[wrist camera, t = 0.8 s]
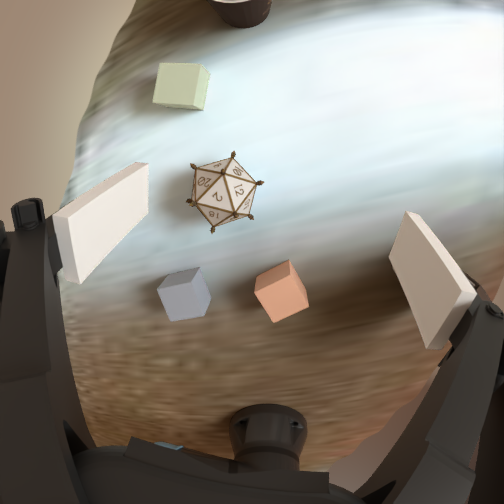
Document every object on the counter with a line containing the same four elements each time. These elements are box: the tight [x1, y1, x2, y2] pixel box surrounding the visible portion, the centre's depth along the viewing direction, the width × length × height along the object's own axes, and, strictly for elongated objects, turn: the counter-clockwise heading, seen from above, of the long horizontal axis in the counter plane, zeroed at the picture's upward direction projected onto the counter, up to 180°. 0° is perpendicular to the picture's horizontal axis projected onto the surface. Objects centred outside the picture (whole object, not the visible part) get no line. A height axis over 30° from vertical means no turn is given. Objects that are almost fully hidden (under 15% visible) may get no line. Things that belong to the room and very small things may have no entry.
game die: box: [186, 151, 264, 234], centre depth 34 cm, size 9×8×10 cm
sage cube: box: [152, 63, 210, 110], centre depth 32 cm, size 5×5×5 cm
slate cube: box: [157, 267, 211, 321], centre depth 41 cm, size 5×5×5 cm
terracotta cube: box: [254, 260, 309, 323], centre depth 40 cm, size 5×5×5 cm
